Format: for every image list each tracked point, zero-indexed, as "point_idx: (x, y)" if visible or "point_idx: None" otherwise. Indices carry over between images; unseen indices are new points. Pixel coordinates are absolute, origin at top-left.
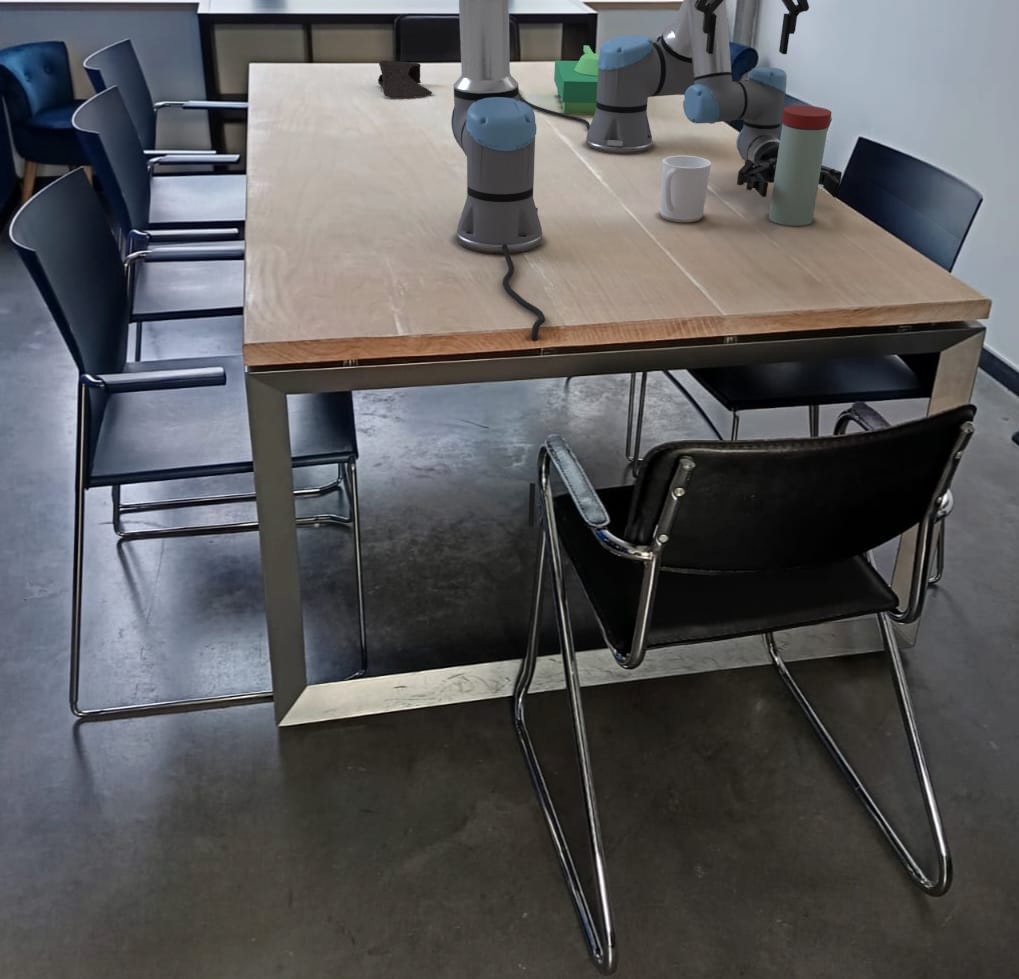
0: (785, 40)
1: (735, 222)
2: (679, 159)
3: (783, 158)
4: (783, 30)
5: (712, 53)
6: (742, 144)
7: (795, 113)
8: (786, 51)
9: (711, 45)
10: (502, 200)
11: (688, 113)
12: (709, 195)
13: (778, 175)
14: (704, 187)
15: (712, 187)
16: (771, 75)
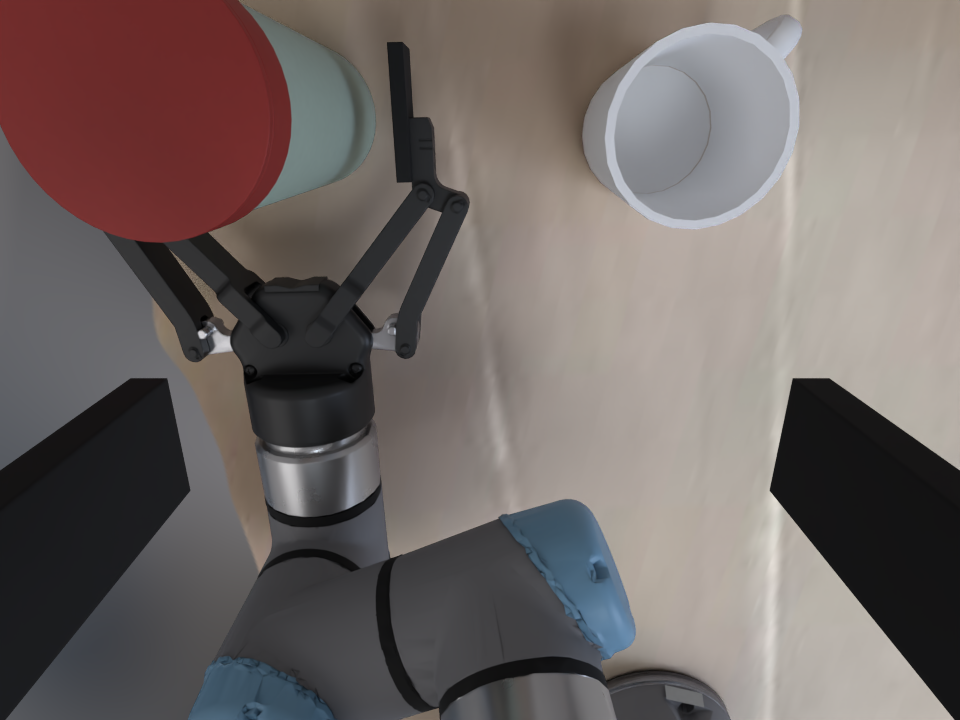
0: (87, 431)
1: (487, 80)
2: (699, 216)
3: (313, 63)
4: (65, 567)
5: (798, 379)
6: (384, 548)
7: (208, 18)
8: (123, 386)
9: (853, 410)
10: None
11: (609, 550)
12: (508, 346)
13: (339, 86)
14: (618, 72)
15: (484, 417)
16: (250, 713)
